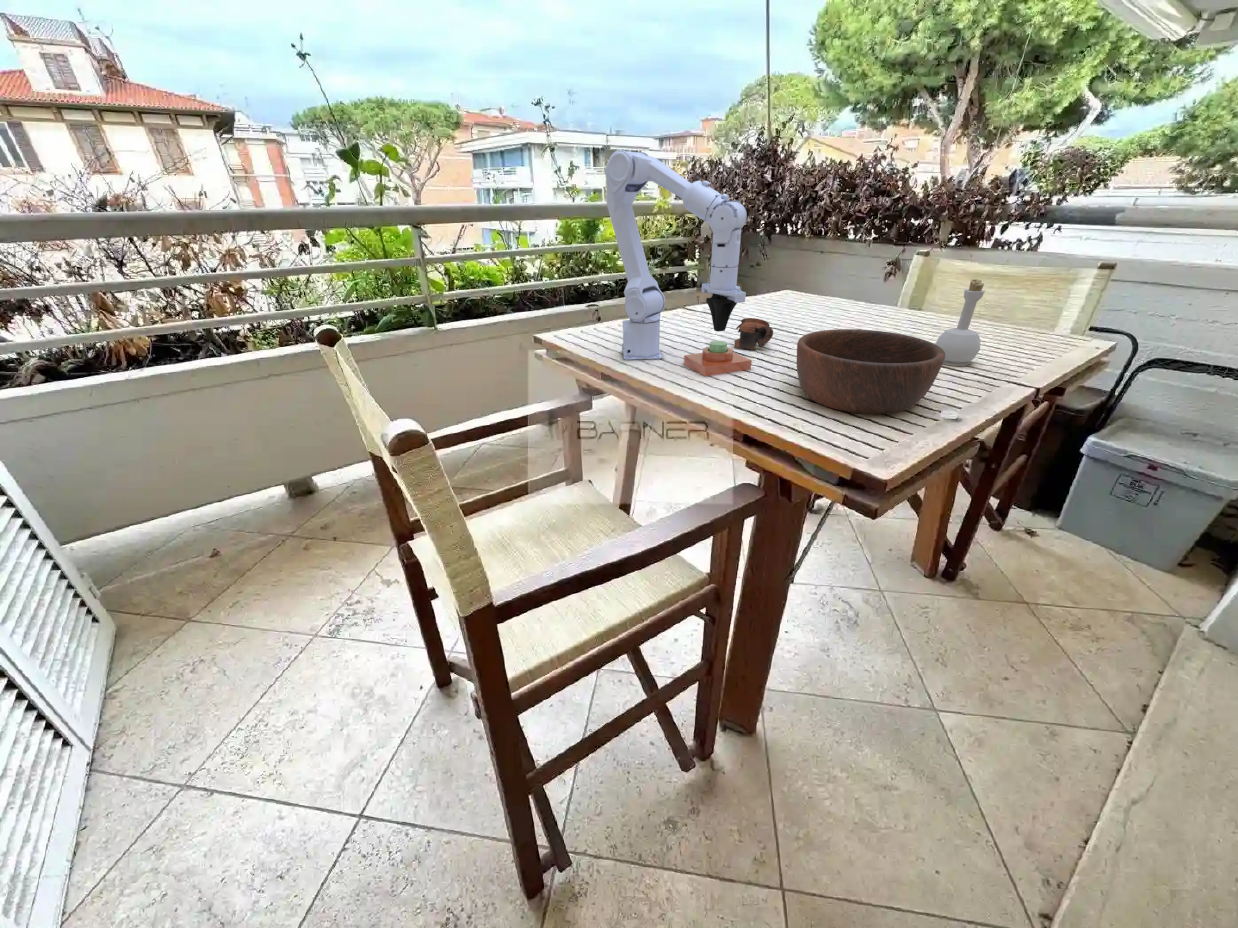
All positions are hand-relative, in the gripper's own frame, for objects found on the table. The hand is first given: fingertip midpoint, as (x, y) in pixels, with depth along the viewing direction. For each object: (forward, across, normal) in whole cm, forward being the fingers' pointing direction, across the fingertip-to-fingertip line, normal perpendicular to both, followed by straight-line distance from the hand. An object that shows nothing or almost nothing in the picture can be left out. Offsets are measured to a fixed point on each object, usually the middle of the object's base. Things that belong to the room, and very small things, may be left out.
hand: (719, 330), depth 109 cm
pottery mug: (+9, +11, -18) cm, 22 cm away
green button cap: (+5, 0, 0) cm, 5 cm away
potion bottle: (+9, -20, -51) cm, 56 cm away
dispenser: (+8, 0, 0) cm, 8 cm away
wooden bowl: (+9, -28, -15) cm, 33 cm away
